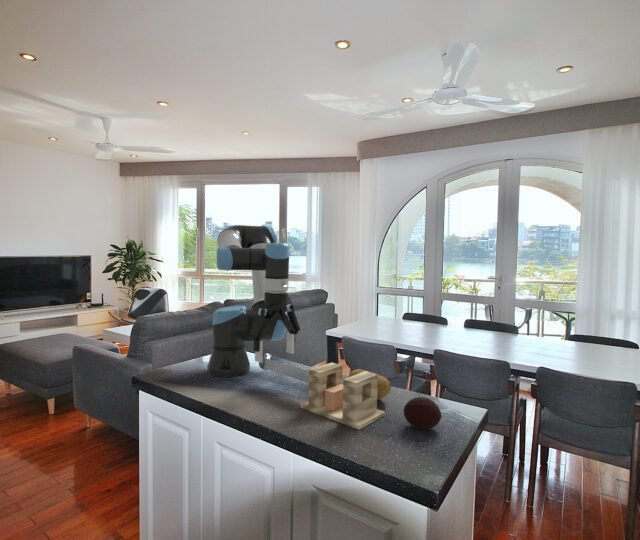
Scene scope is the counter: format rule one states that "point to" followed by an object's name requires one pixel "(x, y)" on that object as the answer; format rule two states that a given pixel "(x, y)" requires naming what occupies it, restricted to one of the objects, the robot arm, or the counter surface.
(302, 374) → the shaft
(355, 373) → the potato
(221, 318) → the robot arm
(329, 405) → the spacer
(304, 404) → the bearing stand
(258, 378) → the counter surface
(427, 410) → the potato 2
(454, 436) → the counter surface
